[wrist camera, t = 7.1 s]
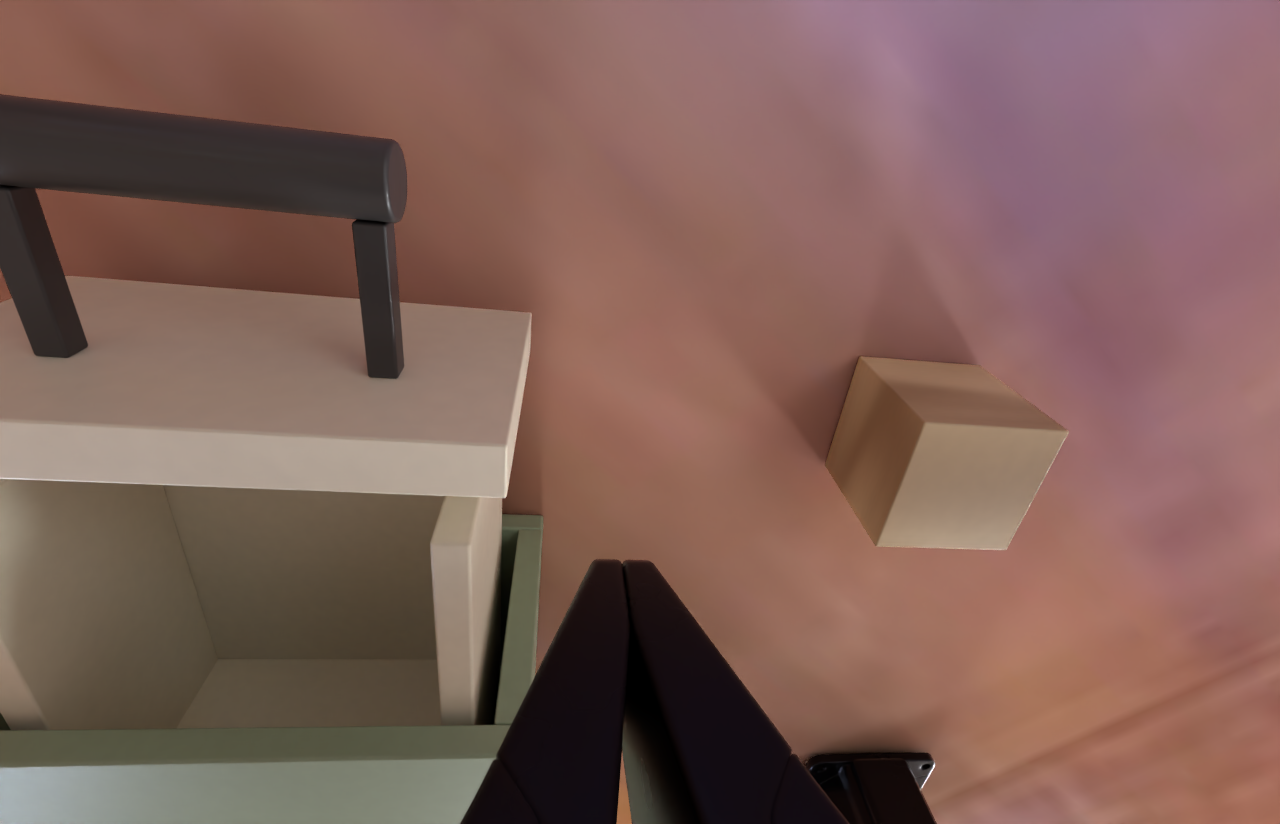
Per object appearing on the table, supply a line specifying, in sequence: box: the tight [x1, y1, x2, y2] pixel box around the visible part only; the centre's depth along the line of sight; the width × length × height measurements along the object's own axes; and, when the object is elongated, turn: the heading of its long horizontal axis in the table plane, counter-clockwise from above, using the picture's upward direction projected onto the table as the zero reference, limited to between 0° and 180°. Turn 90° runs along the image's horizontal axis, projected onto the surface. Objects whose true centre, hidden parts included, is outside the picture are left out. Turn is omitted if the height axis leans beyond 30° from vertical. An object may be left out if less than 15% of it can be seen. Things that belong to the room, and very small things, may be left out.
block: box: [825, 356, 1069, 550], centre depth 19 cm, size 4×4×4 cm
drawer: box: [0, 94, 532, 730], centre depth 15 cm, size 18×11×7 cm, turn 173°
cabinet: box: [0, 514, 543, 824], centre depth 20 cm, size 15×13×9 cm
